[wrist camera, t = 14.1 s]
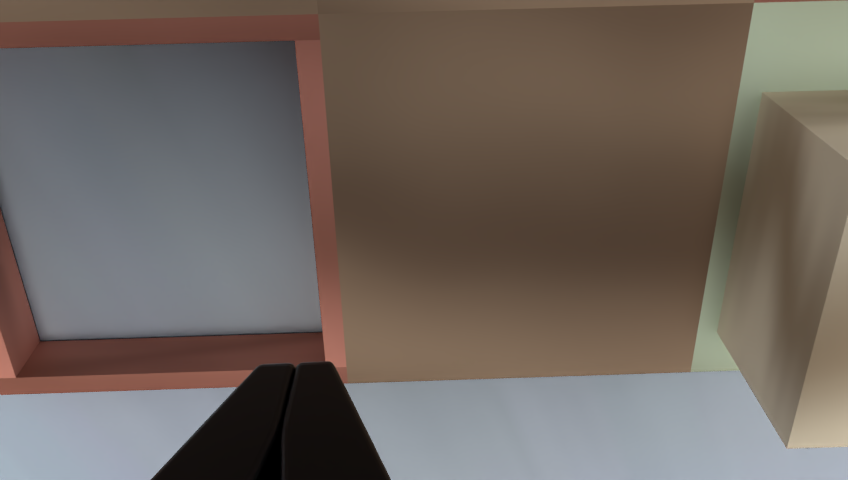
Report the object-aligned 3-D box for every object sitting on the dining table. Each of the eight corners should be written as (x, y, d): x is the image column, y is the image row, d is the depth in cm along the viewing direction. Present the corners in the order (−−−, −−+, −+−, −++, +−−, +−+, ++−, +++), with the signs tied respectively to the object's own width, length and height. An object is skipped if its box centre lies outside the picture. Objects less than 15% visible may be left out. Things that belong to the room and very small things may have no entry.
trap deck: (-270, -582, 13) (-349, -627, 11) (1343, -604, 13) (1451, -651, 12) (25, 357, 21) (0, 394, 20) (990, 326, 22) (1028, 361, 20)
